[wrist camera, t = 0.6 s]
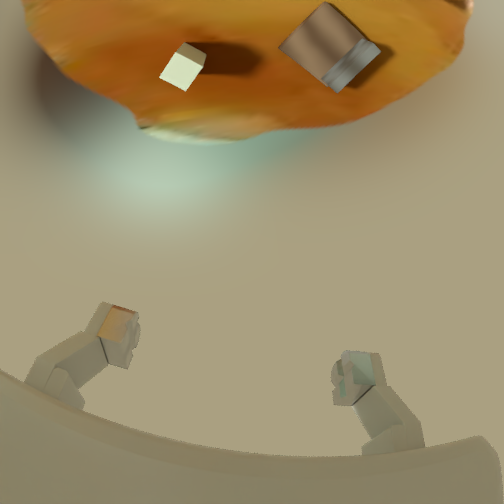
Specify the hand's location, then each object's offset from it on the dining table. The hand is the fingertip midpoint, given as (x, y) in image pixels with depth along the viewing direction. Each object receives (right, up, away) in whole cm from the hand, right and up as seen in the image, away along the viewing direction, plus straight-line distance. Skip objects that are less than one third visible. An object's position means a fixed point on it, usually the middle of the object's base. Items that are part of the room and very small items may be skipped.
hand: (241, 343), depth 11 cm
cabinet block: (-10, +35, +29) cm, 47 cm away
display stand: (+13, +39, +28) cm, 50 cm away
